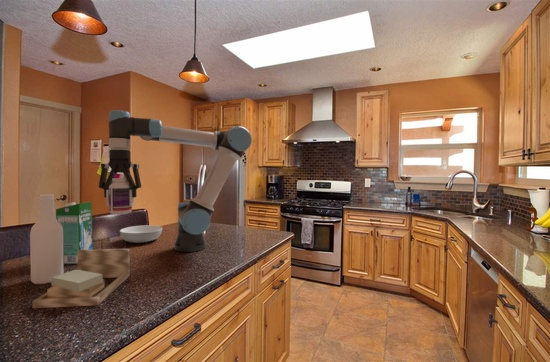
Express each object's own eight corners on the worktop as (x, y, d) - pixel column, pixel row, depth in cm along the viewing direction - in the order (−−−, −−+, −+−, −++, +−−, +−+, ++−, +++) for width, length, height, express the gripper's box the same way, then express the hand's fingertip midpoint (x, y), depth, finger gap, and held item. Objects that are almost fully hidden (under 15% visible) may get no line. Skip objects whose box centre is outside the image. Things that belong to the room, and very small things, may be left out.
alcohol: (46, 274, 99) (45, 193, 98) (69, 275, 99) (69, 193, 98) (23, 284, 90) (22, 195, 89) (49, 285, 90) (48, 195, 89)
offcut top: (102, 282, 82) (102, 274, 82) (79, 291, 76) (78, 283, 76) (76, 277, 86) (75, 269, 86) (51, 285, 80) (51, 277, 80)
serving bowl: (151, 246, 137) (151, 233, 137) (111, 246, 137) (111, 232, 137) (168, 236, 158) (168, 225, 158) (133, 236, 158) (133, 224, 158)
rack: (129, 275, 99) (129, 248, 98) (97, 305, 77) (97, 270, 77) (80, 277, 97) (79, 249, 96) (32, 308, 75) (31, 272, 75)
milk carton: (71, 257, 119) (70, 201, 118) (92, 256, 120) (92, 201, 119) (56, 264, 110) (55, 203, 109) (79, 263, 111) (78, 203, 110)
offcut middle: (104, 287, 85) (104, 279, 85) (89, 297, 78) (89, 288, 78) (65, 287, 85) (65, 279, 84) (47, 297, 78) (47, 289, 77)
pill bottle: (136, 212, 112) (136, 178, 112) (119, 215, 105) (119, 178, 104) (121, 211, 115) (121, 177, 115) (104, 214, 107) (103, 178, 107)
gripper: (150, 150, 114) (150, 204, 115) (97, 150, 112) (98, 204, 112) (143, 149, 107) (144, 206, 107) (87, 148, 104) (87, 206, 105)
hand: (120, 205), depth 110 cm, fingers closed on pill bottle, 8 cm apart
